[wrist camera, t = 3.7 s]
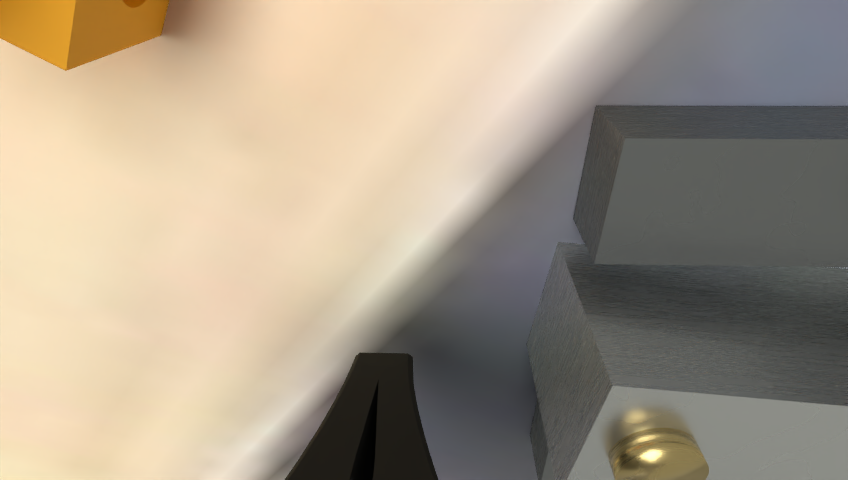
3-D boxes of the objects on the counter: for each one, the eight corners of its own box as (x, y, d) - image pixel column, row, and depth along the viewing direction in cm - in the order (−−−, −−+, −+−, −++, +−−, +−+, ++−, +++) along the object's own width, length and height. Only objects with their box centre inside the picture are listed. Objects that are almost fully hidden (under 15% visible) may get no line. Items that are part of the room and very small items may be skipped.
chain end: (856, 442, 17) (986, 601, 13) (530, 434, 17) (557, 588, 13) (1144, 107, 10) (1613, 223, 6) (596, 105, 11) (694, 215, 6)
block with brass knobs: (825, 367, 15) (989, 553, 11) (525, 340, 15) (563, 519, 10) (906, 271, 13) (1156, 454, 9) (556, 238, 13) (621, 408, 8)
